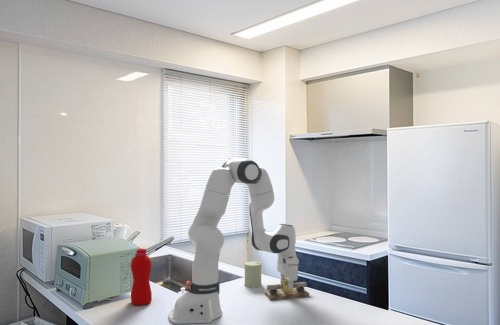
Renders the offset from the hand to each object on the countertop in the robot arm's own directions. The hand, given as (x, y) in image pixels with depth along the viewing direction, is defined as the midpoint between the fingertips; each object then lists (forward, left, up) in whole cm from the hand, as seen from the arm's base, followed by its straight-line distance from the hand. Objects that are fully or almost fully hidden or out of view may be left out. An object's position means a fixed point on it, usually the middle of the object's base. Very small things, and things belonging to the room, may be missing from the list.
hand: (286, 285), depth 189 cm
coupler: (0, 0, -3) cm, 3 cm away
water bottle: (-70, +8, -5) cm, 71 cm away
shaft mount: (0, 0, -5) cm, 5 cm away
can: (-12, +20, -5) cm, 24 cm away
